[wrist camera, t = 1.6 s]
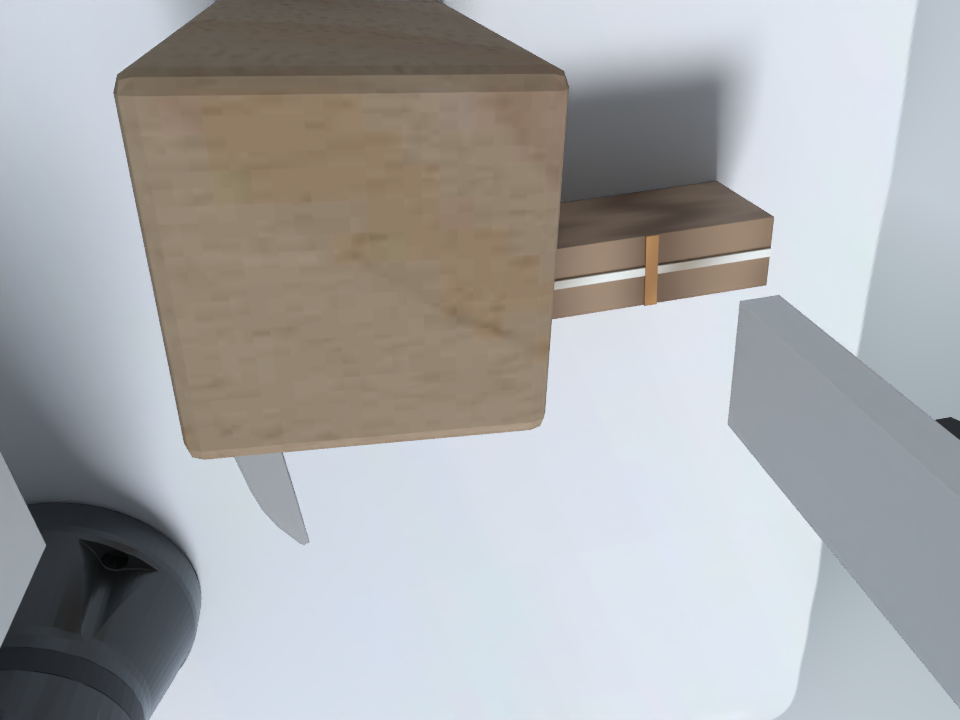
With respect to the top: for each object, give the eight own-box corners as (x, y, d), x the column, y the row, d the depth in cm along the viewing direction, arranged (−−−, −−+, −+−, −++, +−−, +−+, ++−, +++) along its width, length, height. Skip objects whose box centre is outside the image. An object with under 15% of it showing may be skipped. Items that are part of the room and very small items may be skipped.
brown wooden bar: (277, 308, 40) (270, 365, 35) (261, 245, 38) (252, 295, 33) (712, 242, 43) (767, 286, 38) (716, 181, 41) (775, 217, 36)
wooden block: (212, -3, 33) (102, 71, 16) (445, -1, 34) (576, 67, 17) (242, 223, 38) (184, 468, 20) (445, 215, 39) (548, 435, 22)
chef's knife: (268, 562, 49) (315, 554, 49) (266, 575, 48) (314, 567, 48) (172, 292, 39) (231, 283, 39) (167, 302, 38) (228, 293, 38)
